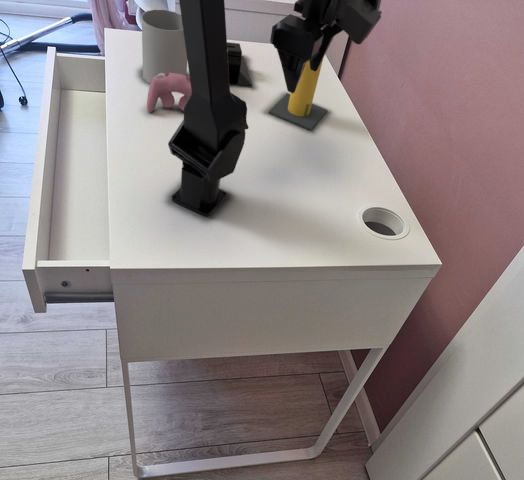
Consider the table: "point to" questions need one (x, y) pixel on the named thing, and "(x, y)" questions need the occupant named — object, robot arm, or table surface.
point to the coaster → (305, 122)
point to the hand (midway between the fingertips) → (302, 80)
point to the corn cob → (304, 92)
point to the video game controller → (168, 90)
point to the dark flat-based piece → (237, 66)
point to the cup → (163, 44)
